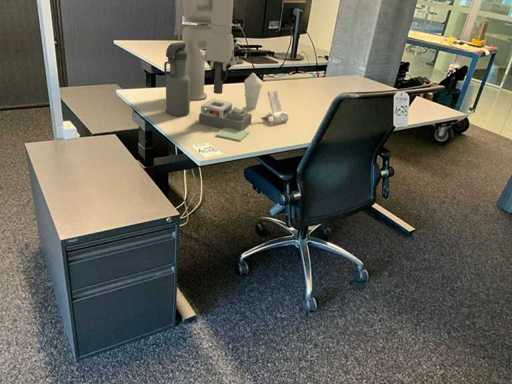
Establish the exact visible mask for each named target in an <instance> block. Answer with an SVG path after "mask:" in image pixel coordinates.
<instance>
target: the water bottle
mask: <svg viewBox="0 0 512 384" xmlns="http://www.w3.org/2000/svg"><path fill="white" fill-rule="evenodd" d="M185 47H186V43H183V42H182V41H181V42H179V41H178V42H173V43H171V44H169V45H168V47H167V49H166V51H165V57H166V58H167V61H165V62H164V63H163V65H164V66H163V68H164V69H163V70H164V71H163V72H164V75H165V76H166V78H165V112H166V114H168V115H170V116H172V117H173V116H174V117H183V116H184V117H185V116H188V115H189V114H190V113H191V112H190V110H191V107H190V106H191V100H190V78H189V77H188V76H187V75H186V70H187V52H186V51H185ZM168 64H169V73H168V72H167V65H168Z"/></svg>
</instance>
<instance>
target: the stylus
mask: <svg viewBox="0 0 512 384" xmlns="http://www.w3.org/2000/svg"><path fill="white" fill-rule="evenodd" d="M222 71H223V63H221V62H215V74H214V79H213V93H214V94H217V95H221V94H223V85H224V81H221V73H222Z"/></svg>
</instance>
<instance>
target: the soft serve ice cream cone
mask: <svg viewBox="0 0 512 384" xmlns="http://www.w3.org/2000/svg"><path fill="white" fill-rule="evenodd" d="M243 84H244V98H245V106H246V107H245V108H246V109H249V110H255V109H256V107H257V104H258V101H259V98H260V93H261V89H262V87H263V82H262V80H261V79H260V78H259V76H257V75H256V73H254V72H252V73H251V74H250V75H248V77H247V78H246V79H244V82H243Z"/></svg>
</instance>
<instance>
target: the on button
mask: <svg viewBox="0 0 512 384" xmlns="http://www.w3.org/2000/svg"><path fill="white" fill-rule="evenodd" d="M233 109H234V110H233V113H235V114H242V111H244V109H243V107H242V106H234V107H233Z"/></svg>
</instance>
